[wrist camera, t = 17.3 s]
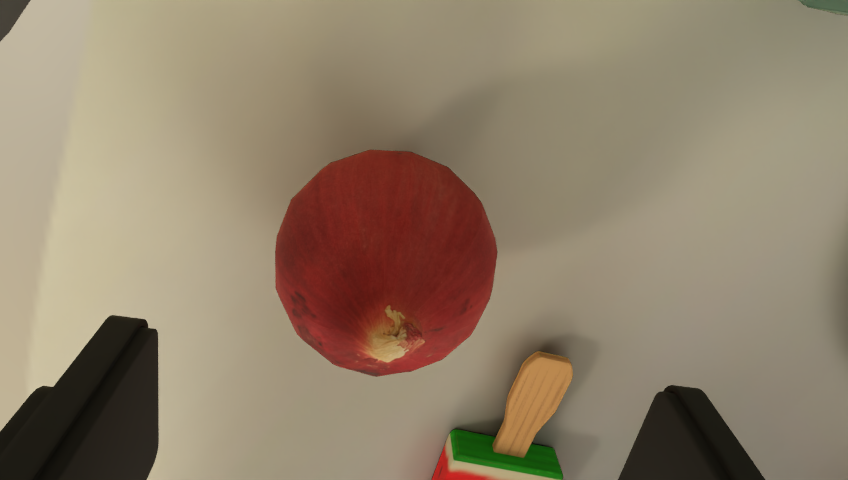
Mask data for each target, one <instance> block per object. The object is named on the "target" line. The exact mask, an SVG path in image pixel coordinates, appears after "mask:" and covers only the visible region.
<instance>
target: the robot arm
mask: <svg viewBox="0 0 848 480" xmlns="http://www.w3.org/2000/svg"><path fill="white" fill-rule="evenodd" d="M157 450H158V332H157V330H156V329H151V328H148V324H147V321H146V320H145V319H138V318H130V317H122V316H114V315H112V316H109V317H108V318H107V319H106V320H105V322H104V323H103V324H102V325H101V327H100V328H99V329H98V331H97V332H96V333H95V334H94V336H93V337H92V338H91V340H90V341H89V342H88V343H87V345H86V346H85V347H84V348H83V350H82V351H81V352H80V354H79V355H78V356H77V357H76V359H75V360H74V361H73V363H72V364H71V365H70V366H69V368H68V369H67V370H66V372H65V373H64V374H63V375H62V377H61V378H60V379H59V380H58V382H57V383H56V384H55V386H54V387H48V386H42V387H40V388H38V389H36V390H35V391H34V392H33V393H32V394H31V395H30V396H29V397H28V399H27V400H26V401H25V402H24V403H23V405H22V406H21V407H20V409H19V410H18V411H17V412H16V413H15V414H14V416H13V417H12V418H11V420H10V421H9V422H8V423H7V424H6V426H5V427H4V428H3V429H2V430H1V431H0V480H146V479H147V477H148V475H149V473H150V471H151V469H152V467H153V464H154V462H155V458H156V455H157ZM618 480H765V478H764V477H763V476H762V474H761V473H760V471H759V470H758V468H757V467H756V466H755V464H754V463H753V461H752V460H751V458H750V457H749V456H748V454H747V453H746V451H745V450H744V449H743V447H742V446H741V444H740V443H739V441H738V440H737V439H736V437H735V436H734V434H733V433H732V431H731V430H730V429H729V427H728V426H727V424H726V423H725V421H724V420H723V419H722V417H721V416H720V414H719V413H718V411H717V410H716V409H715V407H714V406H713V404H712V403H711V401H710V400H709V399H708V397H707V396H706V394H705V393H704V392H703V391H702V390H700V389H698V388H690V387H682V386H674V385H671V386H668V387H666V388H665V390H664V391H663V392H658V393H657V394H656V396H655V397H654V400H653V402H652V404H651V406H650V409H649V411H648V413H647V415H646V418H645V420H644V422H643V425H642V427H641V429H640V431H639V434H638V436H637V438H636V440H635V443H634V445H633V447H632V449H631V452H630V454H629V456H628V459H627V461H626V463H625V465H624V468H623V470H622V472H621V474H620V477H619V479H618Z"/></svg>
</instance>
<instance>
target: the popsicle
mask: <svg viewBox="0 0 848 480" xmlns="http://www.w3.org/2000/svg"><path fill="white" fill-rule="evenodd" d="M572 377H573V372H572V365H571V363H570V361H569V359H568V358H567V357H563V356H558V355H554V354H549V353H545V352H540V351H538V352H535V353H534V354H532V355H531V356H530V357H528V358H527V359H526V360H525V361H524V363H523V364H522V366H521V368H520V371H519V373H518V375H517V377H516V379H515V381H514V383H513V386H512V388H511V390H510V392H509V394H508V397H507V403H506V410H505V417H504V421H503V424H502V426H501V428H500V430H499V432H498V434H497V436H496V437H494V436H488V435H483V434H478V433H473V432H468V431H463V430H458V429H454V430H452V431H451V432H450V434H449V436H448V438H447V440H446V443H445V446H444V448H443V451H442V454H441V456H440V459H439V462H438V464H437V467H436V470H435V472H434V475H433V477H432V480H562V479H563V474H562V471H561V468H560V465H559V462H558V459H557V456H556V453H555V450H554V449H553V448H550V447H545V446H540V445H535V444H531V443H532V441H533V439H534V437H535V435H536V433H537V432H538V431H539V430H540V428H541V427H542V426H543V425H544V424H545V423H546V422H547V421H548V419H549V418H550V417H551V416H552V415H553V414H554V413H555V411H556V409H557V407H558V405H559V404H560V402H561V400H562V398H563V396H564V394H565V392H566V390H567V388H568V386H569V384H570V382H571V380H572Z"/></svg>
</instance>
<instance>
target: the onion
mask: <svg viewBox="0 0 848 480" xmlns="http://www.w3.org/2000/svg"><path fill="white" fill-rule="evenodd" d="M496 259H497V247H496V241H495V237H494V234H493V231H492V229H491V226H490V223H489V221H488V218H487V215H486V213H485V210H484V207H483V205H482V203H481V201H480V200H479V199H478V197H477V196H476V195H475V193H474V192H473V191H472V190H471V189H470V188H469V187H468V186H467V185H466V184H465V183H464V182H463V181H462V180H461V179H459V178H458V177H457V176H456V175H455V174H454V173H453V172H452V171H451V170H450V169H449V168H448V167H446V166H444V165H441V164H439V163H437V162H434V161H432V160H429V159H427V158H425V157H422V156H420V155H417V154H415V153H413V152H403V151H384V150H368V151H364V152H361V153H358V154H355V155H352V156H349V157H346V158H343V159H340V160H337V161H334V162H331V163H330V164H328V165H327V166H325V167H324V168H323V169H322V170H321V171H320V172H319V173H318V174H317V175H316V176H315V177H314V178H313V179H312V180H311V181H310V182H308V183H307V184H306V185H305V186H304V187H303V188H302V189H301V190H300V191H299V192H298V193H297V194H296V195H295V196H294V197H293V198H292V199H291V201H290V204H289V207H288V209H287V212H286V214H285V217H284V219H283V222H282V225H281V227H280V230H279V232H278V235H277V241H276V250H275V267H276V290H277V293H278V295H279V297H280V300H281V302H282V304H283V306H284V308H285V310H286V312H287V314H288V316H289V319H290V321H291V323H292V325H293V327H294V329H295V331H296V333H297V334H298V335H299V336H300V337H301V338H302V339H303V340H304V341H305V342H306V343H307V344H309V345H310V346H311V347H312V348H314V349H315V350H316V351H317V352H319V353H320V354H321V355H322V356H324V357H325V358H326V359H327V360H329V361H330V362H331V363H332V364H334V365H336V366H339V367H342V368H346V369H350V370H354V371H357V372H361V373H364V374H368V375H371V376H376V377H377V376H383V375H389V374H395V373H402V372H411V371H413V370H416V369H419V368H421V367H424V366H426V365H429V364H432V363H434V362H437V361H440V360H442V359H443V358H445V357H446V356H447V355H448V354H449V353H451V352H452V351H453V350H454V349H455V348H456V347H457V346H459V345H460V344H461V343H462V342H463V341H464V340H466V339H467V338H468V337H469V336H470V335H471V334H472V332H473V330H474V329H475V327H476V325H477V323H478V321H479V319H480V317H481V315H482V313H483V311H484V309H485V307H486V305H487V303H488V301H489V299H490V296H491V292H492V287H493V280H494V273H495V266H496Z"/></svg>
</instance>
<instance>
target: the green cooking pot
mask: <svg viewBox="0 0 848 480" xmlns="http://www.w3.org/2000/svg"><path fill="white" fill-rule="evenodd" d="M799 1H800V2H801V3H802V4H803V5H806V6H807V7H809V8H814V9H819V10H824V11H828V12H832V13H835V14H840V15H847V16H848V0H799Z"/></svg>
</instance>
